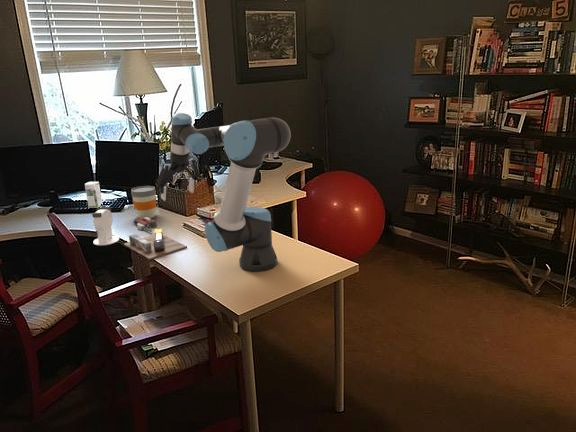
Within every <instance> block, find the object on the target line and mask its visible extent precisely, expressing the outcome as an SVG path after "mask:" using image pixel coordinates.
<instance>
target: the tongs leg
mask: <svg viewBox="0 0 576 432" xmlns="http://www.w3.org/2000/svg"><path fill="white" fill-rule="evenodd" d="M154 235H155V238H156V240H154V241H153V244H154V251H156V252H160V251H164V250H165V246H164V240H163V235H164V233H163V228H156V229H154Z"/></svg>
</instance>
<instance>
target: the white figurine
mask: <svg viewBox="0 0 576 432" xmlns="http://www.w3.org/2000/svg"><path fill="white" fill-rule="evenodd" d="M91 215H92V218H93V220H92V221H93V226H94V229H95V235H97V238H95V239H94V240H93V245H95V246H108V245H112V244H115V243H118V241H120V237H119V236H117V235H113V229H112V225H113V219H114V218H113V215H112V207H111V206H101V209H97V211H95V212H92V214H91Z"/></svg>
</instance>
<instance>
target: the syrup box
mask: <svg viewBox="0 0 576 432" xmlns="http://www.w3.org/2000/svg"><path fill="white" fill-rule="evenodd" d="M84 189H85V194H86V199H87V204H88V205H87V207H88V209H89V208H98V207H99V206H100V205H101V204H102V205H103V200H102V194H101V187H100V182H99V181H88V182H86V183H84ZM98 209H99V208H98Z"/></svg>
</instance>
